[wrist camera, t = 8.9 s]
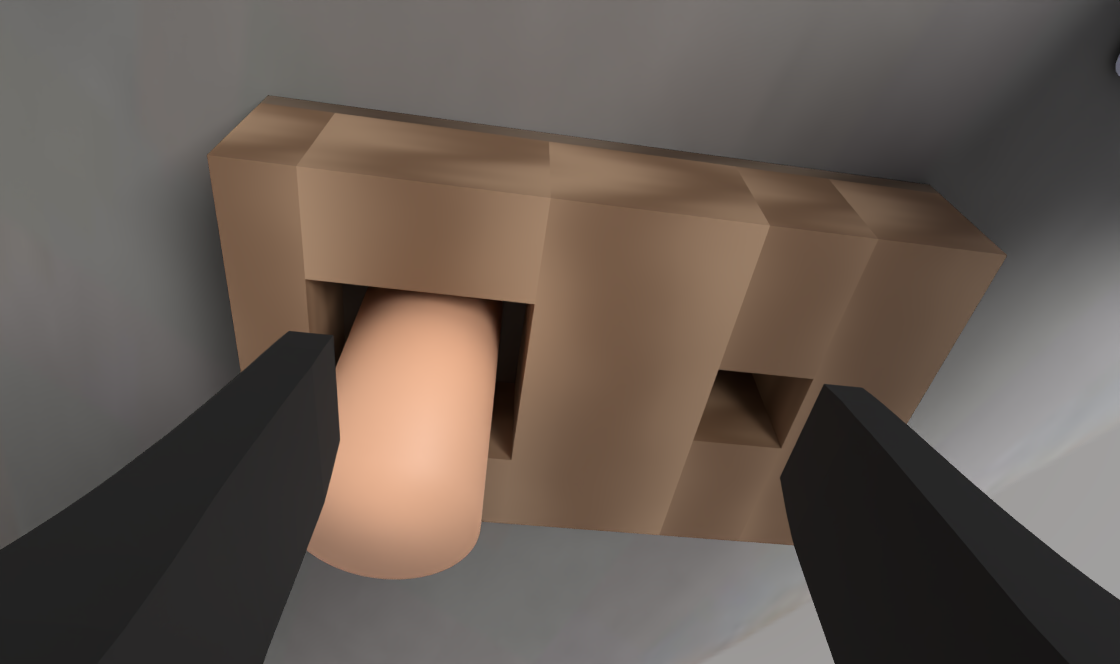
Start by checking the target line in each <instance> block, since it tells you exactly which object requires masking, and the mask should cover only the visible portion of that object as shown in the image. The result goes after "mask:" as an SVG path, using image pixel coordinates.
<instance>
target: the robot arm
mask: <svg viewBox="0 0 1120 664" xmlns="http://www.w3.org/2000/svg"><path fill="white" fill-rule="evenodd" d="M1116 72H1117V74H1118V75H1119V76H1120V55H1119V57H1118V59H1117V62H1116ZM339 443H340V428H339V413H338V398H337V382H336V367H335V352H334V337H333V335H326V334H316V333H306V332H296V331H288V332H287V333H286V334H284V335H283V336H282V337H280V338H279V339H278V340H277V341H276V342H275V343H273V344H272V345H271V346H270V347H269V348H268V349H267V350H266V351H264V352H263V353H262V354H261V355H260V356H259V357H258V358H257V359H255V360H254V361H253V362H252V363H251V364H250V365H249V366H248V367H246V368H245V369H244V370H243V371H242V372H241V373H240V374H239V375H237V376H236V377H235V378H234V379H233V380H232V381H230V382H229V383H228V384H227V385H226V386H225V387H224V388H222V389H221V390H220V391H219V392H218V393H217V394H215V395H214V396H213V397H212V398H211V399H209V400H208V401H207V402H206V403H205V404H203V405H202V406H201V407H200V408H199V409H197V410H196V411H195V412H194V413H193V414H191V415H190V416H189V417H188V418H187V419H185V420H184V421H183V422H182V423H181V424H179V425H178V426H177V427H176V428H175V429H173V430H172V431H171V432H170V433H168V434H167V435H166V436H164V437H163V438H162V439H161V440H159V441H158V442H157V443H155V444H154V445H153V446H151V447H150V448H149V449H147V450H146V451H145V452H143V453H142V454H141V455H139V456H138V457H137V458H135V459H134V460H133V461H132V462H130V463H129V464H128V465H126V466H125V467H124V468H122V469H121V470H120V471H118V472H117V473H116V474H114V475H113V476H112V477H110V478H109V479H107V480H106V481H105V482H103V483H102V484H100V485H99V486H98V487H96V488H95V489H93V490H92V491H90V492H89V493H88V494H86V495H85V496H83V497H82V498H80V499H79V500H78V501H76V502H75V503H73V504H72V505H70V506H69V507H67V508H66V509H64V510H63V511H61V512H60V513H58V514H57V515H55V516H53V517H52V518H50V519H49V520H47V521H46V522H44V523H43V524H41V525H39V526H38V527H36V528H35V529H33V530H32V531H30V532H29V533H27V534H26V535H24V536H22V537H21V538H19V539H17V540H16V541H14V542H13V543H11V544H9V545H8V546H6V547H4V548H3V549H1V550H0V664H263V662H264V659H265V656H266V653H267V651H268V648H269V645H270V643H271V640H272V638H273V635H274V632H275V630H276V627H277V625H278V622H279V620H280V617H281V614H282V612H283V609H284V607H285V604H286V602H287V599H288V596H289V594H290V591H291V589H292V586H293V584H294V581H295V578H296V576H297V573H298V571H299V568H300V566H301V563H302V561H303V558H304V555H305V553H306V550H307V548H308V545H309V542H310V540H311V537H312V535H313V532H314V529H315V527H316V524H317V521H318V519H319V516H320V514H321V511H322V508H323V505H324V503H325V499H326V495H327V491H328V487H329V484H330V480H331V476H332V472H333V468H334V464H335V460H336V455H337V451H338V447H339ZM780 481H781V487H782V492H783V498H784V503H785V509H786V514H787V519H788V523H789V528H790V532H791V537H792V541H793V544H794V547H795V550H796V553H797V556H798V559H799V562H800V565H801V568H802V571H803V574H804V577H805V580H806V583H807V585H808V588H809V591H810V594H811V597H812V600H813V603H814V606H815V608H816V611H817V614H818V617H819V620H820V623H821V625H822V628H823V631H824V634H825V637H826V640H827V643H828V645H829V648H830V651H831V654H832V657H833V660H834V663H835V664H1120V600H1119V599H1118V598H1116V597H1115V596H1113V595H1112V594H1111V593H1109V592H1108V591H1106V590H1105V589H1103V588H1102V587H1101V586H1099V585H1098V584H1097V583H1095V582H1094V581H1093V580H1091V579H1090V578H1089V577H1087V576H1086V575H1085V574H1083V573H1082V572H1081V571H1079V570H1078V569H1077V568H1075V567H1074V566H1073V565H1071V564H1070V563H1069V562H1067V561H1066V560H1065V559H1064V558H1062V557H1061V556H1060V555H1059V554H1057V553H1056V552H1055V551H1054V550H1052V549H1051V548H1050V547H1049V546H1047V545H1046V544H1045V543H1044V542H1042V541H1041V540H1040V539H1039V538H1037V537H1036V536H1035V535H1034V534H1032V533H1031V532H1030V531H1029V530H1028V529H1026V528H1025V527H1024V526H1023V525H1021V524H1020V523H1019V522H1018V521H1016V520H1015V519H1014V518H1013V517H1012V516H1010V515H1009V514H1008V513H1007V512H1006V511H1004V510H1003V509H1002V508H1001V507H1000V506H999V505H997V504H996V503H995V502H994V501H993V500H992V499H990V498H989V497H988V496H987V495H986V494H985V493H983V492H982V491H981V490H980V489H979V488H978V487H976V486H975V485H974V484H973V483H972V482H971V481H970V480H968V479H967V478H966V477H965V476H964V475H963V474H962V473H961V472H959V471H958V470H957V469H956V468H955V467H954V466H953V465H952V464H950V463H949V462H948V461H947V460H946V459H945V458H944V457H943V456H941V455H940V454H939V453H938V452H937V451H936V450H935V449H934V448H932V447H931V446H930V445H929V444H928V443H927V442H926V441H925V440H924V439H922V438H921V437H920V436H919V435H918V434H917V433H916V432H915V431H913V430H912V429H911V428H910V427H909V426H908V425H907V424H906V423H904V422H903V421H902V420H901V419H900V418H899V417H898V416H897V415H895V414H894V413H893V412H892V411H891V410H890V409H888V408H887V407H886V406H885V405H884V404H883V403H881V402H880V401H879V400H878V399H877V398H875V397H874V396H873V395H872V394H870V393H869V392H868V391H866V390H865V389H864V388H862V387H852V386H841V385H831V384H823V387H822V389H821V391H820V393H819V395H818V397H817V399H816V401H815V404H814V406H813V408H812V410H811V412H810V414H809V416H808V418H807V421H806V423H805V425H804V427H803V429H802V431H801V433H800V435H799V438H798V440H797V442H796V444H795V446H794V448H793V450H792V452H791V455H790V457H789V459H788V461H787V463H786V465H785V467H784V469H783V471H782V474H781V476H780Z"/></svg>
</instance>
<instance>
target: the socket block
mask: <svg viewBox="0 0 1120 664" xmlns="http://www.w3.org/2000/svg"><path fill="white" fill-rule="evenodd" d="M207 158H208V165H209V171H210V177H211V184H212V190H213V197H214V203H215V209H216V216H217V222H218V229H219V235H220V241H221V248H222V254H223V261H224V267H225V273H226V280H227V286H228V293H229V299H230V305H231V312H232V318H233V325H234V331H235V337H236V344H237V350H238V357H239V363H240V369H241V372H242V371H243V370H244V369H245V368H246V367H248V366H249V365H250V364H251V363H252V362H253V361H254V360H255V359H257V358H258V357H259V356H260V355H261V354H262V353H263V352H264V351H266V350H267V349H268V348H269V347H270V346H271V345H272V344H273V343H275V342H276V341H277V340H278V339H279V338H280V337H282V336H283V335H284V334H286V333H287V332H288V331H296V332H306V333H316V334H326V335H333V337H334V352H335V367H336V366H337V363H338V361H339V358H340V356H341V353H342V351H343V348H344V346H345V343H346V341H347V338H348V336H349V333H350V331H351V328H352V326H353V323H354V321H355V318H356V316H357V313H358V311H359V308H360V306H361V303H362V301H363V298H364V296H365V293H366V291H367V288H368V286H373V287H382V288H391V289H400V290H409V291H418V292H428V293H437V294H446V295H455V296H464V297H473V298H483V299H492V300H501V301H502V302H503V313H502V322H501V332H500V342H499V352H498V362H497V372H496V381H495V391H494V401H493V411H492V421H491V431H490V440H489V450H488V460H487V470H486V480H485V490H484V500H483V509H482V519H481V522H494V523H507V524H520V525H533V526H547V527H560V528H573V529H586V530H599V531H613V532H626V533H639V534H652V535H665V536H678V537H692V538H705V539H718V540H731V541H744V542H758V543H771V544H784V545H794V544H793V541H792V537H791V532H790V528H789V523H788V519H787V514H786V509H785V503H784V498H783V492H782V487H781V481H780V476H781V474H782V471H783V469H784V467H785V465H786V463H787V461H788V459H789V457H790V455H791V452H792V450H793V448H794V446H795V444H796V442H797V440H798V438H799V435H800V433H801V431H802V429H803V427H804V425H805V423H806V421H807V418H808V416H809V414H810V412H811V410H812V408H813V406H814V404H815V401H816V399H817V397H818V395H819V393H820V391H821V389H822V387H823V384H831V385H841V386H852V387H862V388H864V389H865V390H866V391H868V392H869V393H870V394H872V395H873V396H874V397H875V398H877V399H878V400H879V401H880V402H881V403H883V404H884V405H885V406H886V407H887V408H888V409H890V410H891V411H892V412H893V413H894V414H895V415H897V416H898V417H899V418H900V419H901V420H902V421H903V422H904V423H906V424H907V423H908V421H909V419H910V418H911V416H912V414H913V413H914V411H915V409H916V407H917V406H918V404H919V402H920V401H921V399H922V397H923V396H924V394H925V392H926V391H927V389H928V387H929V386H930V384H931V382H932V381H933V379H934V377H935V376H936V374H937V372H938V371H939V369H940V367H941V366H942V364H943V362H944V361H945V359H946V357H947V355H948V354H949V352H950V350H951V349H952V347H953V345H954V344H955V342H956V340H957V339H958V337H959V335H960V334H961V332H962V330H963V329H964V327H965V325H966V324H967V322H968V320H969V319H970V317H971V315H972V314H973V312H974V310H975V308H976V307H977V305H978V303H979V302H980V300H981V298H982V297H983V295H984V293H985V292H986V290H987V288H988V287H989V285H990V283H991V282H992V280H993V278H994V277H995V275H996V273H997V272H998V270H999V268H1000V267H1001V265H1002V263H1003V262H1004V260H1005V258H1006V256H1007V255H1006V254H1005V253H1004V252H1003V251H1002V250H1001V249H1000V248H999V247H997V246H996V245H995V244H994V243H993V242H992V241H991V240H990V239H989V238H988V237H986V236H985V235H984V234H983V233H982V232H981V231H980V230H979V229H978V228H977V227H975V226H974V225H973V224H972V223H971V222H970V221H969V220H968V219H967V218H966V217H964V216H963V215H962V214H961V213H960V212H959V211H958V210H957V209H956V208H955V207H953V206H952V205H951V204H950V203H949V202H948V201H947V200H946V199H945V198H944V197H942V196H941V195H940V194H939V193H938V192H937V191H936V190H935V189H934V188H933V187H931V186H930V185H928V184H920V183H913V182H906V181H898V180H891V179H883V178H876V177H869V176H861V175H854V174H846V173H839V172H832V171H824V170H817V169H809V168H802V167H795V166H787V165H780V164H772V163H765V162H758V161H750V160H743V159H735V158H728V157H721V156H713V155H706V154H698V153H691V152H684V151H676V150H669V149H661V148H654V147H647V146H639V145H632V144H624V143H617V142H610V141H602V140H595V139H587V138H580V137H573V136H565V135H558V134H550V133H543V132H536V131H528V130H521V129H513V128H506V127H498V126H491V125H484V124H476V123H469V122H461V121H454V120H447V119H439V118H432V117H424V116H417V115H410V114H402V113H395V112H387V111H380V110H373V109H365V108H358V107H350V106H343V105H336V104H328V103H321V102H313V101H306V100H299V99H291V98H284V97H276V96H269V95H268V96H267V97H266V98H265V99H264V100H263V101H262V102H261V103H260V104H259V105H258V106H257V107H256V108H255V109H254V110H253V111H252V112H251V113H250V114H249V115H248V116H247V117H246V118H245V119H243V120H242V121H241V122H240V123H239V124H238V125H237V126H236V127H235V128H234V129H233V130H232V131H231V132H230V133H229V134H228V135H227V136H226V137H225V138H224V139H223V140H222V141H221V142H220V143H219V144H218V145H217V146H216V147H215V148H214V149H213V150H212V151H211V152H210V153H209V154H208V155H207Z"/></svg>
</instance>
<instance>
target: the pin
mask: <svg viewBox="0 0 1120 664" xmlns="http://www.w3.org/2000/svg"><path fill="white" fill-rule="evenodd" d="M502 313H503V302H502V301H501V300H492V299H483V298H473V297H464V296H455V295H446V294H437V293H428V292H418V291H409V290H400V289H391V288H382V287H373V286H368V288H367V291H366V293H365V296H364V298H363V301H362V303H361V306H360V308H359V311H358V313H357V316H356V318H355V321H354V323H353V326H352V328H351V331H350V333H349V336H348V338H347V341H346V343H345V346H344V348H343V351H342V353H341V356H340V358H339V361H338V363H337V366H336V382H337V398H338V413H339V428H340V443H339V447H338V451H337V455H336V460H335V464H334V468H333V472H332V476H331V480H330V484H329V487H328V491H327V495H326V499H325V503H324V505H323V508H322V511H321V514H320V516H319V519H318V521H317V524H316V527H315V529H314V532H313V535H312V537H311V540H310V542H309V545H308V548H307V551H308V552H310V553H311V554H312V555H314V556H315V557H317V558H318V559H320V560H322V561H324V562H325V563H327V564H329V565H331V566H334V567H336V568H338V569H341V570H344V571H347V572H350V573H353V574H357V575H361V576H366V577H372V578H380V579H411V578H418V577H424V576H428V575H432V574H435V573H438V572H441V571H443V570H445V569H448V568H450V567H452V566H453V565H455V564H457V563H458V562H460V561H461V560H462V559H463V558H465V557H466V556H467V555H468V554H469V552H470V551H471V550H472V549H473V547H474V546H475V544H476V542H477V540H478V537H479V534H480V528H481V519H482V509H483V500H484V490H485V480H486V470H487V460H488V450H489V440H490V431H491V421H492V411H493V401H494V391H495V381H496V372H497V362H498V352H499V342H500V332H501V322H502Z"/></svg>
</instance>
